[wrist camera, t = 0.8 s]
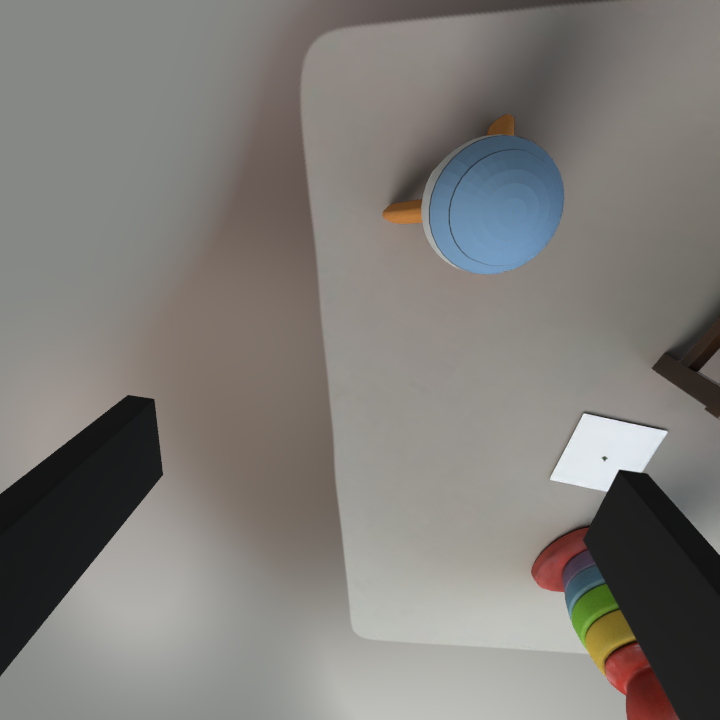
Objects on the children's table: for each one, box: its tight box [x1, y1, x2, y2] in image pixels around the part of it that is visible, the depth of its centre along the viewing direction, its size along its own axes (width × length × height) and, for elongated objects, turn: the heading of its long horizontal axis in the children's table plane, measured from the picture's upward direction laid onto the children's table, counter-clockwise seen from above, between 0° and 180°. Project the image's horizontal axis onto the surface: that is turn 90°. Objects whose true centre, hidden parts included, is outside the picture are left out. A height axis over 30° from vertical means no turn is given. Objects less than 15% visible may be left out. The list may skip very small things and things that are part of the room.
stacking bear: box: [531, 527, 679, 720], centre depth 35 cm, size 11×10×18 cm
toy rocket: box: [383, 114, 564, 274], centre depth 24 cm, size 10×11×15 cm
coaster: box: [549, 414, 668, 492], centre depth 37 cm, size 8×8×1 cm
